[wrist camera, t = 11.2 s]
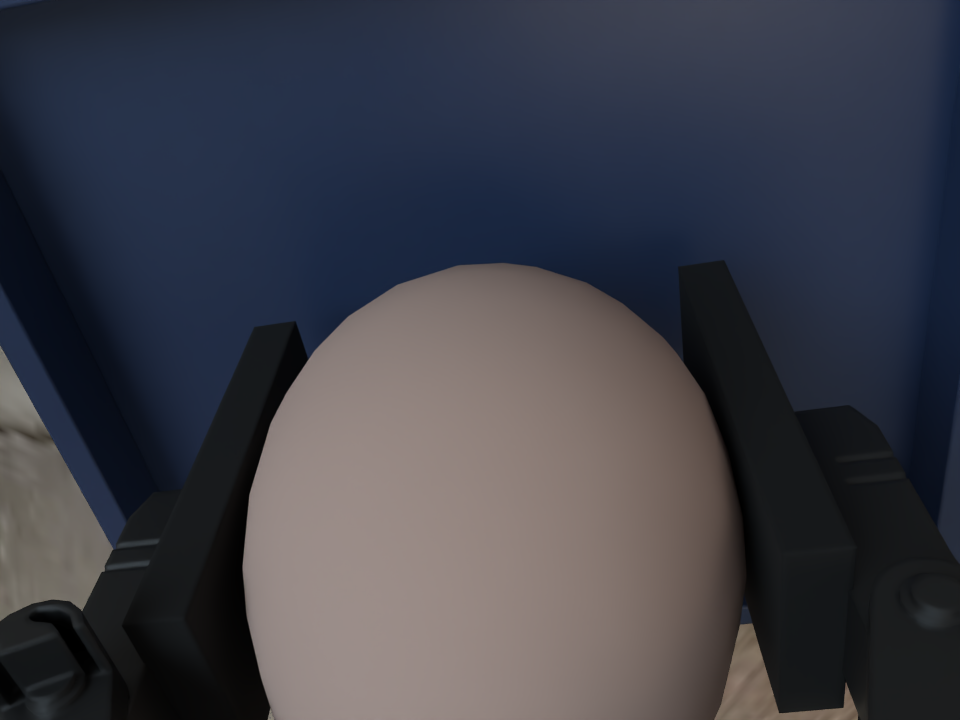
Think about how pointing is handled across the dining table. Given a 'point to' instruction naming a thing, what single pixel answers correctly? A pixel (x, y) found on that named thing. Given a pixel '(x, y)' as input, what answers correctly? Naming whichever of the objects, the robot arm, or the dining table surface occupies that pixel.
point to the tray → (471, 194)
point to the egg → (494, 514)
